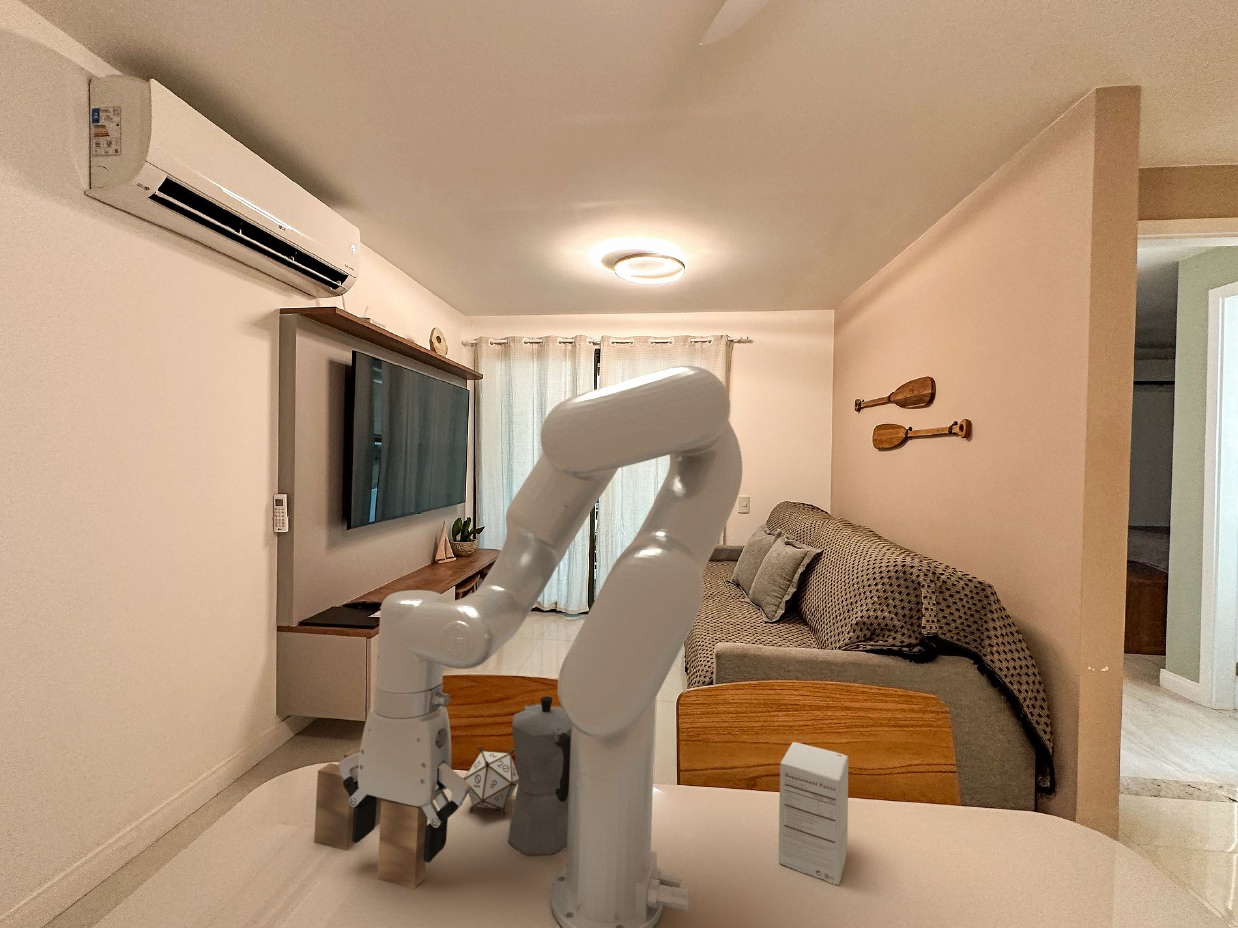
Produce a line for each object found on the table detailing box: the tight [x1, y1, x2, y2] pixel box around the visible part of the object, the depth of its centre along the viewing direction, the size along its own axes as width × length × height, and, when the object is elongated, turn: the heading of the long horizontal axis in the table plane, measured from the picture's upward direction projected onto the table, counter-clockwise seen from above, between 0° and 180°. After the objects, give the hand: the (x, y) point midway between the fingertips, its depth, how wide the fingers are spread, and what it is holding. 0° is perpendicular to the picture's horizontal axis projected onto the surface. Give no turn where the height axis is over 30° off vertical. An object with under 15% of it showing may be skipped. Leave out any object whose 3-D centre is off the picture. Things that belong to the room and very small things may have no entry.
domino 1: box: [313, 763, 358, 851], centre depth 71 cm, size 5×2×9 cm, turn 75°
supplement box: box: [778, 741, 849, 886], centre depth 71 cm, size 7×7×13 cm
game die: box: [461, 744, 519, 816], centre depth 80 cm, size 9×8×10 cm
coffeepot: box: [507, 696, 572, 856], centre depth 73 cm, size 15×9×18 cm, turn 29°
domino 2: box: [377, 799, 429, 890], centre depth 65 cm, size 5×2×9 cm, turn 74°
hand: (397, 844), depth 65 cm, fingers open, 9 cm apart
